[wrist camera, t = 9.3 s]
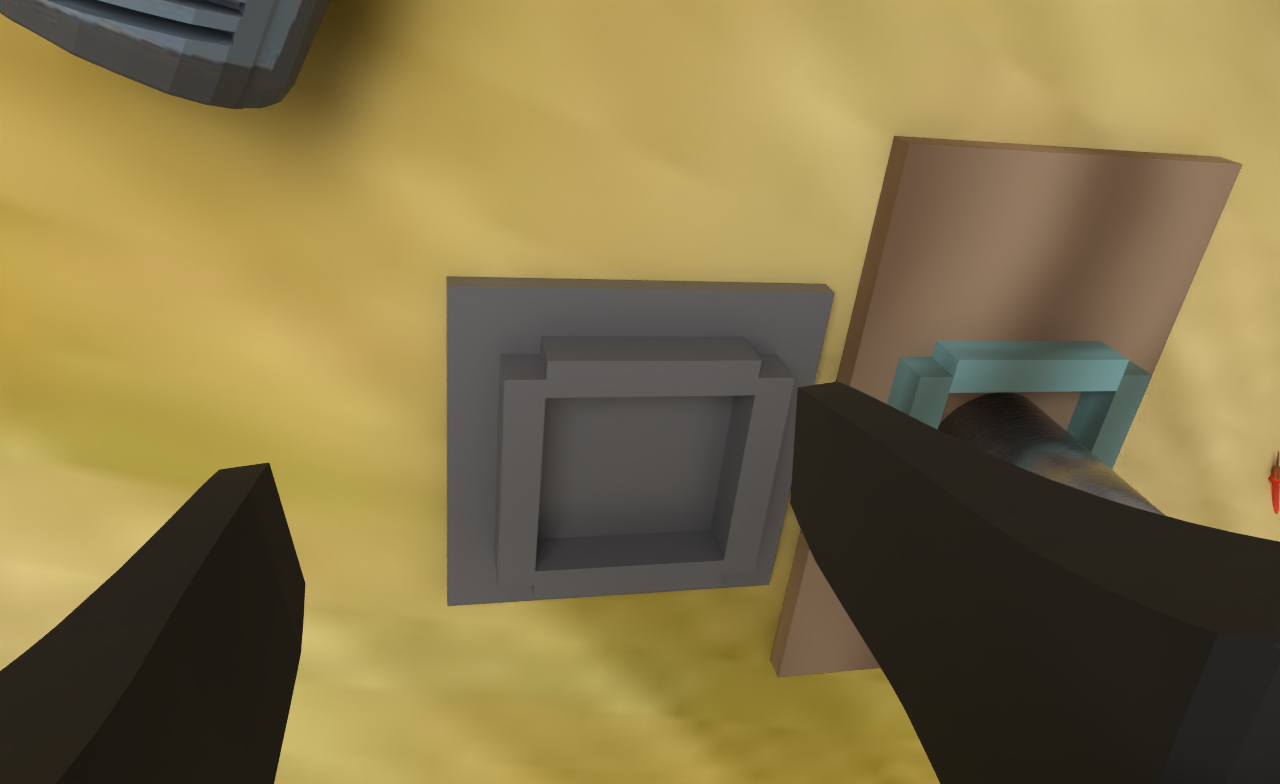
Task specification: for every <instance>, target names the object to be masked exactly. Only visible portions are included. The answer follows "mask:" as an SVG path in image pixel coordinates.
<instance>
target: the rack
mask: <svg viewBox="0 0 1280 784" xmlns="http://www.w3.org/2000/svg"><path fill="white" fill-rule="evenodd" d="M1241 167H1242V164H1240V163H1237V162H1234V161H1230V160H1227V159H1224V158H1221V157H1212V156H1197V155H1181V154H1166V153H1150V152H1134V151H1119V150H1103V149H1088V148H1072V147H1057V146H1041V145H1025V144H1010V143H994V142H979V141H963V140H948V139H932V138H917V137H901V136H894V140H893V145H892V149H891V153H890V157H889V162H888V166H887V170H886V174H885V178H884V183H883V187H882V191H881V195H880V199H879V204H878V208H877V212H876V216H875V221H874V225H873V229H872V233H871V237H870V242H869V246H868V250H867V254H866V259H865V263H864V267H863V271H862V275H861V280H860V284H859V288H858V292H857V296H856V301H855V305H854V309H853V313H852V318H851V322H850V326H849V330H848V334H847V339H846V343H845V347H844V351H843V355H842V360H841V364H840V368H839V372H838V377H837V381H836V382H840V383H842V384H845V385H848V386H850V387H852V388H855V389H857V390H859V391H861V392H863V393H865V394H867V395H869V396H871V397H874V398H876V399H878V400H880V401H882V402H884V403H886V404H888V405H890V406H892V407H894V408H895V409H897V410H899V411H901V412H903V413H905V414H907V415H909V416H911V417H913V418H915V419H917V420H919V421H921V422H923V423H925V424H927V425H929V426H931V427H933V428H935V429H937V430H938V427H939V424H940V423H941V422H942V421H943V420H944V419H945V418H946V417H947V416H948V415H949V414H950V413H952V412H953V411H954V410H955V409H957V408H958V407H960V406H961V405H963V404H965V403H967V402H969V401H970V400H973V399H975V398H977V397H980V396H984V395H987V394H992V393H1000V392H1007V393H1014V394H1019V395H1021V396H1024V397H1026V398H1027V399H1029V400H1031V401H1032V402H1033V403H1034V404H1035V405H1037V406H1038V407H1039V408H1040V409H1041V410H1042V411H1044V412H1045V413H1046V414H1047V415H1048V416H1049V417H1051V418H1052V419H1053V420H1054V421H1055V422H1056V423H1058V424H1059V425H1060V426H1061V427H1062V428H1063V429H1065V430H1066V431H1067V432H1068V433H1069V434H1070V435H1072V436H1073V437H1074V438H1075V439H1076V440H1077V441H1079V442H1080V443H1081V444H1082V445H1083V446H1085V447H1086V448H1087V449H1088V450H1089V451H1090V452H1092V453H1093V454H1094V455H1095V456H1096V457H1097V458H1099V459H1100V460H1101V461H1102V462H1103V463H1104V464H1106V465H1107V466H1108V467H1109V468H1110V469H1111V470H1112V468H1113V466H1114V463H1115V461H1116V459H1117V456H1118V454H1119V452H1120V449H1121V447H1122V445H1123V442H1124V440H1125V438H1126V435H1127V433H1128V431H1129V428H1130V426H1131V424H1132V421H1133V419H1134V417H1135V414H1136V412H1137V410H1138V408H1139V405H1140V403H1141V401H1142V398H1143V396H1144V394H1145V391H1146V389H1147V387H1148V384H1149V382H1150V380H1151V377H1152V374H1153V372H1154V369H1155V367H1156V365H1157V362H1158V360H1159V358H1160V355H1161V353H1162V351H1163V348H1164V346H1165V344H1166V341H1167V339H1168V337H1169V334H1170V332H1171V330H1172V327H1173V325H1174V323H1175V320H1176V318H1177V316H1178V313H1179V311H1180V309H1181V306H1182V304H1183V302H1184V299H1185V297H1186V295H1187V292H1188V290H1189V288H1190V285H1191V283H1192V281H1193V278H1194V276H1195V274H1196V271H1197V269H1198V267H1199V265H1200V262H1201V260H1202V258H1203V255H1204V253H1205V251H1206V248H1207V246H1208V244H1209V241H1210V239H1211V237H1212V234H1213V232H1214V230H1215V227H1216V225H1217V223H1218V220H1219V218H1220V216H1221V213H1222V211H1223V209H1224V206H1225V204H1226V202H1227V199H1228V197H1229V195H1230V192H1231V190H1232V188H1233V185H1234V183H1235V181H1236V178H1237V176H1238V174H1239V171H1240V169H1241ZM770 660H771V663H772V665H773V667H774V669H775V671H776V674H777V676H778V677H788V676H799V675H809V674H820V673H831V672H842V671H852V670H863V669H874V668H881V667H880V666H879V664H878V663H877V661H876V659H875V658H874V656H873V655H872V653H871V651H870V650H869V648H868V646H867V645H866V643H865V642H864V640H863V638H862V637H861V635H860V634H859V632H858V630H857V629H856V627H855V626H854V624H853V622H852V621H851V619H850V617H849V616H848V614H847V613H846V611H845V609H844V608H843V606H842V605H841V603H840V601H839V600H838V598H837V596H836V595H835V593H834V591H833V590H832V588H831V586H830V585H829V583H828V582H827V580H826V578H825V577H824V575H823V573H822V572H821V570H820V568H819V566H818V565H817V563H816V561H815V560H814V557H813V555H812V553H811V551H810V548H809V546H808V544H807V542H806V540H805V537H804V535H803V533H802V530H801V533H800V537H799V541H798V545H797V549H796V554H795V558H794V562H793V566H792V570H791V575H790V579H789V583H788V587H787V592H786V596H785V600H784V604H783V608H782V613H781V617H780V621H779V625H778V630H777V634H776V638H775V642H774V646H773V651H772V655H771V659H770Z"/></svg>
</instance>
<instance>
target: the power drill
mask: <svg viewBox="0 0 1280 784" xmlns="http://www.w3.org/2000/svg"><path fill="white" fill-rule="evenodd" d="M328 2H329V0H0V13H1V14H3V15H4V16H6V17H7V18H9V19H10V20H12V21H14V22H16V23H17V24H19V25H21V26H23V27H25V28H27V29H28V30H30V31H32V32H34V33H36V34H37V35H39V36H41V37H43V38H45V39H46V40H48V41H50V42H52V43H53V44H55V45H57V46H59V47H60V48H62V49H64V50H66V51H68V52H69V53H71V54H73V55H75V56H77V57H80V58H82V59H84V60H87V61H89V62H91V63H94V64H96V65H98V66H101V67H103V68H105V69H108V70H110V71H112V72H115V73H117V74H119V75H122V76H124V77H127V78H129V79H132V80H134V81H137V82H139V83H142V84H144V85H147V86H149V87H152V88H154V89H157V90H159V91H162V92H164V93H167V94H170V95H174V96H177V97H181V98H185V99H188V100H192V101H195V102H199V103H202V104H206V105H212V106H218V107H225V108H231V109H243V108H263V107H266V106H270V105H273V104H275V103H278V102H280V101H281V100H282V99H283V98H284V97H285V95H286V94H287V93H288V92H289V90H290V89H291V88H292V87H293V85H294V84H295V81H296V79H297V76H298V74H299V72H300V69H301V67H302V64H303V62H304V60H305V57H306V55H307V52H308V50H309V48H310V45H311V43H312V40H313V38H314V36H315V33H316V31H317V29H318V26H319V24H320V21H321V19H322V17H323V14H324V12H325V9H326V7H327V5H328Z"/></svg>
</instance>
